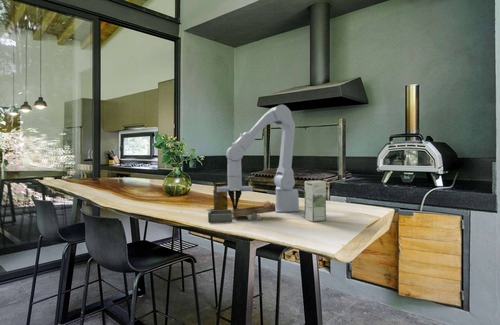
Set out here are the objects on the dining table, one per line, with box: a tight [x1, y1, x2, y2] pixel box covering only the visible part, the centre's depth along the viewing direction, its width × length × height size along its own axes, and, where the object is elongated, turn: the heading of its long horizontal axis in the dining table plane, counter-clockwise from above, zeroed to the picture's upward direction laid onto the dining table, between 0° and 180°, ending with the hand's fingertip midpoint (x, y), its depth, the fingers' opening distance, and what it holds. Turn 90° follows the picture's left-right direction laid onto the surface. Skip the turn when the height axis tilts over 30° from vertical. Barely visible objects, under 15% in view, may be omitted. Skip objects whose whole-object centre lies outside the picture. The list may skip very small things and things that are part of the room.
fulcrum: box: [246, 212, 263, 221], centre depth 122 cm, size 5×8×3 cm, turn 4°
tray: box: [207, 208, 232, 223], centre depth 121 cm, size 8×8×4 cm
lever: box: [232, 202, 276, 218], centre depth 125 cm, size 16×12×2 cm
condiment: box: [206, 182, 230, 212], centre depth 138 cm, size 7×8×12 cm
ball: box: [263, 200, 272, 208], centre depth 122 cm, size 3×3×3 cm
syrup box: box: [304, 179, 327, 223], centre depth 116 cm, size 6×6×14 cm
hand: (235, 209), depth 129 cm, fingers closed, pressing on lever
